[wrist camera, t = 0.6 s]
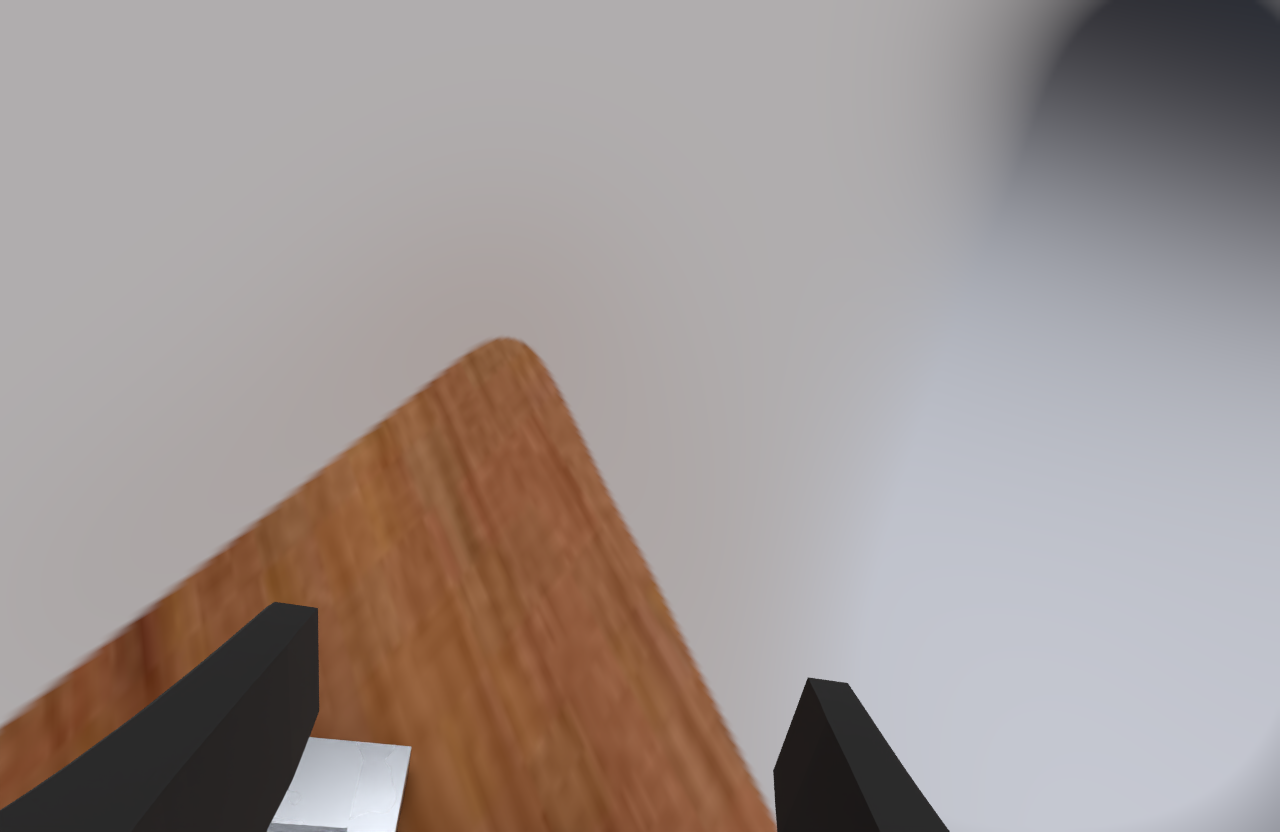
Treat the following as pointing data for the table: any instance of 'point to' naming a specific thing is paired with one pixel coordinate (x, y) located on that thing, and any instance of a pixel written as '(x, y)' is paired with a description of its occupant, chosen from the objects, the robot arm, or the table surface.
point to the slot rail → (345, 788)
